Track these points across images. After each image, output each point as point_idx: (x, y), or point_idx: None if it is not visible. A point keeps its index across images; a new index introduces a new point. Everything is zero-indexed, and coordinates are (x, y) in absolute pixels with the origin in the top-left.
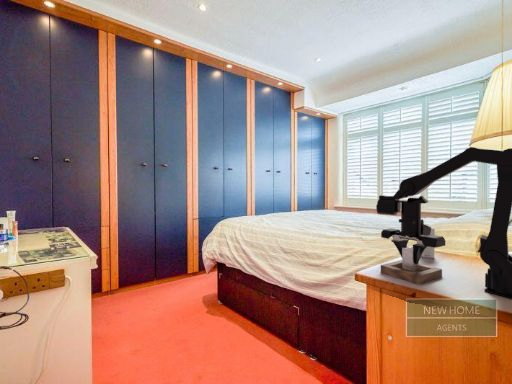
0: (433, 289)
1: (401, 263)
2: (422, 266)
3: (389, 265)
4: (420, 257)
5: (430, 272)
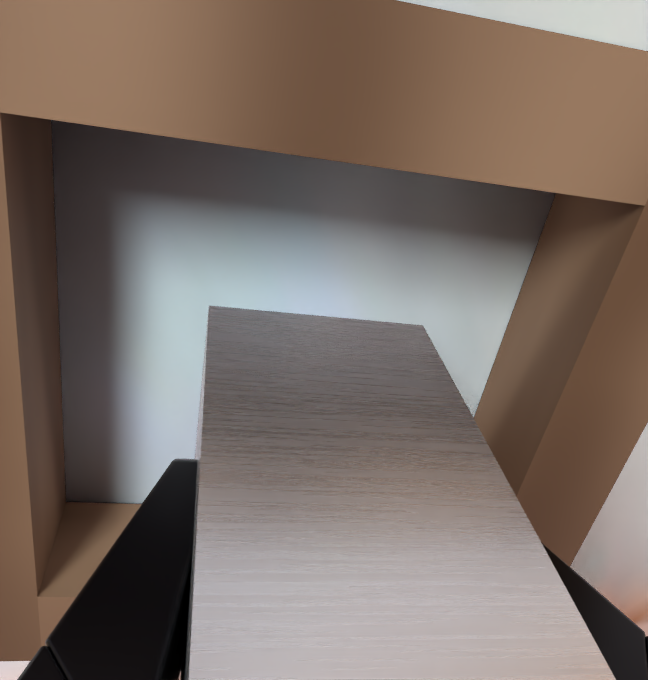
0: (622, 566)
1: (19, 285)
2: (449, 176)
3: (26, 591)
4: (573, 576)
5: (632, 441)
